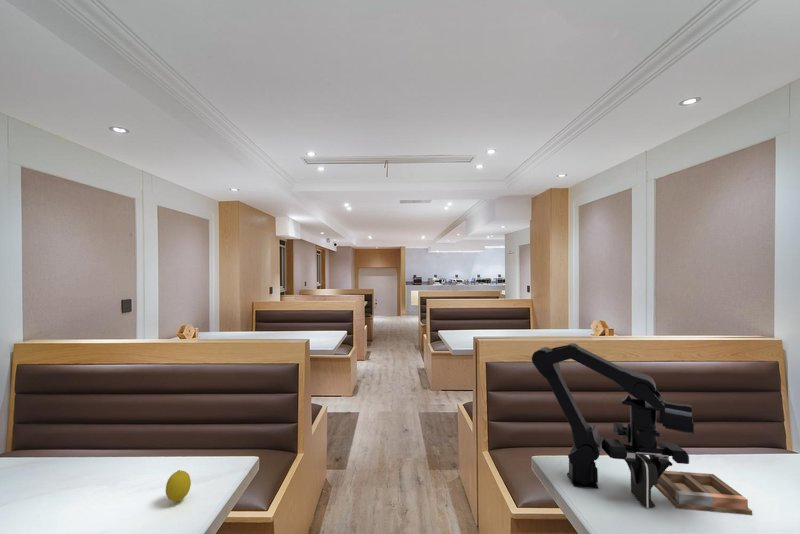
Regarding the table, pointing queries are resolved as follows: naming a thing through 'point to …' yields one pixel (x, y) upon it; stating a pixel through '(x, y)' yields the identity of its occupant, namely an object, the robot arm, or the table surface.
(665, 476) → the dock
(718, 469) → the table surface
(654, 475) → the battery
